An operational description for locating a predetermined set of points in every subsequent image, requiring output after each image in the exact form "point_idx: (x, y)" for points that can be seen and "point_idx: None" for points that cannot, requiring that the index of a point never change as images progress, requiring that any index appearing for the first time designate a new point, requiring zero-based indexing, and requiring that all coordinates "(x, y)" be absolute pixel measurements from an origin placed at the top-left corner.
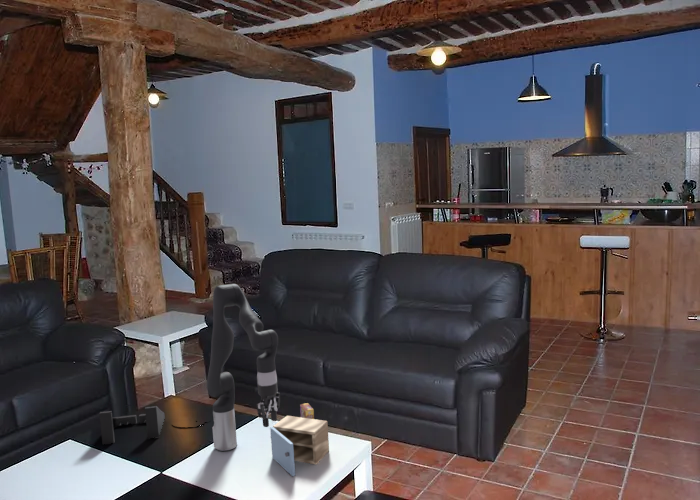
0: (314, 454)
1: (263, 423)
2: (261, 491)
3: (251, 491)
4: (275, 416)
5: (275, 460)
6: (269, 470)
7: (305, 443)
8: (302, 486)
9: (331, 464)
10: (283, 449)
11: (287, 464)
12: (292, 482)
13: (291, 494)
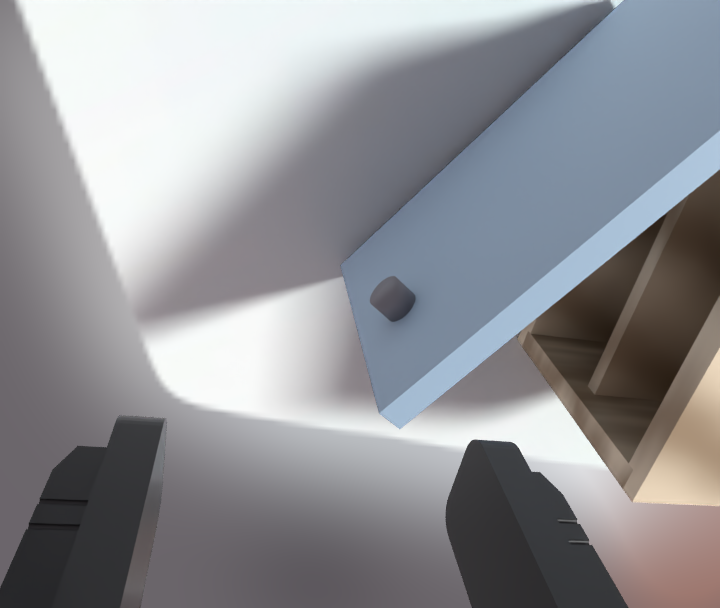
0: (548, 369)
1: (44, 511)
2: (106, 111)
3: (77, 24)
4: (472, 604)
5: (575, 45)
6: (430, 46)
7: (644, 325)
8: (247, 352)
9: (519, 411)
10: (486, 232)
11: (406, 237)
12: (282, 280)
13: (138, 325)
